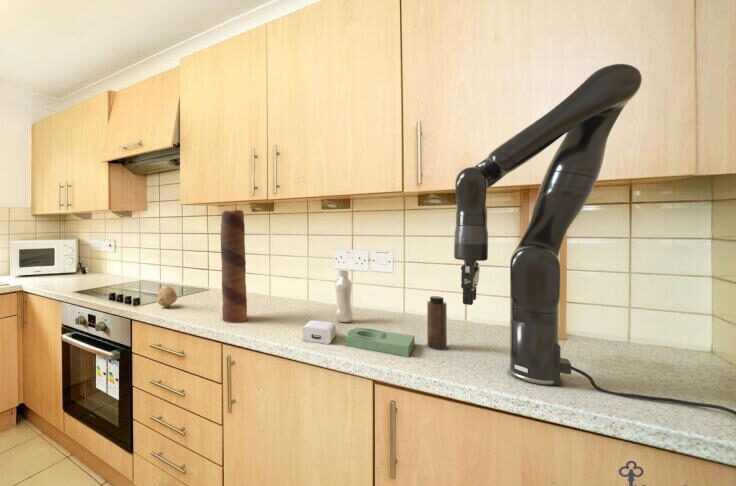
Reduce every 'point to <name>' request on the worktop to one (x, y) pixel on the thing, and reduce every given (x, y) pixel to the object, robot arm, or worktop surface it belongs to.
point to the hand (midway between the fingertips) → (469, 301)
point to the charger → (319, 332)
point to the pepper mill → (437, 323)
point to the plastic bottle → (343, 297)
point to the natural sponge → (166, 296)
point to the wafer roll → (233, 266)
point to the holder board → (380, 341)
